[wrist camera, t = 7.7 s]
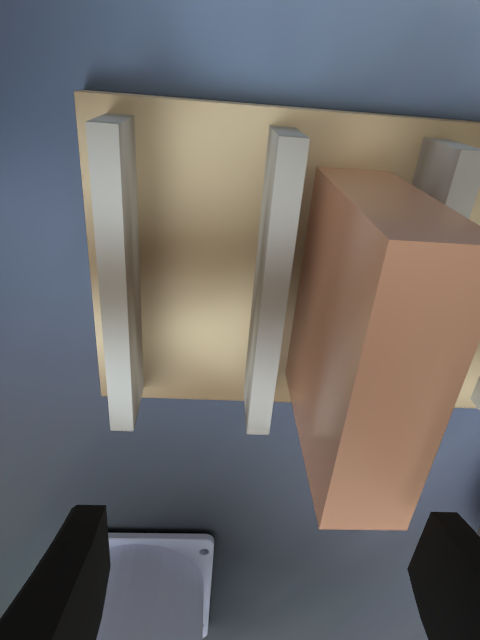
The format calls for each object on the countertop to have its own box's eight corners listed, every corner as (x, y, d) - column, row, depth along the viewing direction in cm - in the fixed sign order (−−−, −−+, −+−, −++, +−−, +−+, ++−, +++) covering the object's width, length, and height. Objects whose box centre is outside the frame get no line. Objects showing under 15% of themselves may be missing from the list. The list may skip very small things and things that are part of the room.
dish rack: (492, 394, 20) (540, 452, 17) (106, 381, 19) (85, 440, 16) (604, 131, 15) (702, 147, 12) (82, 90, 14) (44, 95, 11)
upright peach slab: (343, 376, 18) (406, 530, 12) (285, 374, 18) (318, 528, 12) (390, 171, 15) (516, 247, 8) (316, 166, 14) (388, 239, 8)
